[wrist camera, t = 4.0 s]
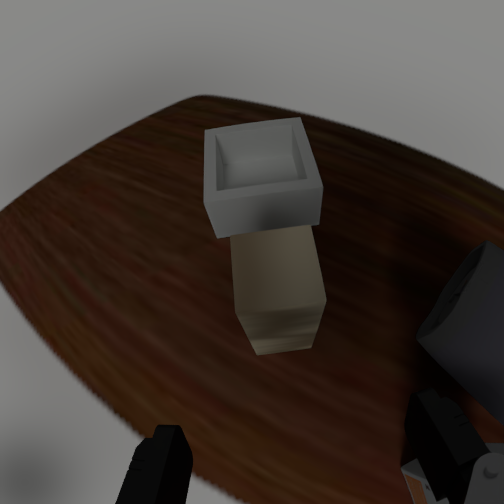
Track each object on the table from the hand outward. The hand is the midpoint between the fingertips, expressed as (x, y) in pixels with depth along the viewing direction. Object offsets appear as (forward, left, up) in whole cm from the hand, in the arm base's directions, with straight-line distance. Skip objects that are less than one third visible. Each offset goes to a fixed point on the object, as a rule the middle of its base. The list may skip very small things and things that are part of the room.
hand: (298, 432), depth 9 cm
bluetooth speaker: (-19, +3, -12) cm, 22 cm away
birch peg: (0, -7, -12) cm, 14 cm away
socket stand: (0, -20, -12) cm, 23 cm away
